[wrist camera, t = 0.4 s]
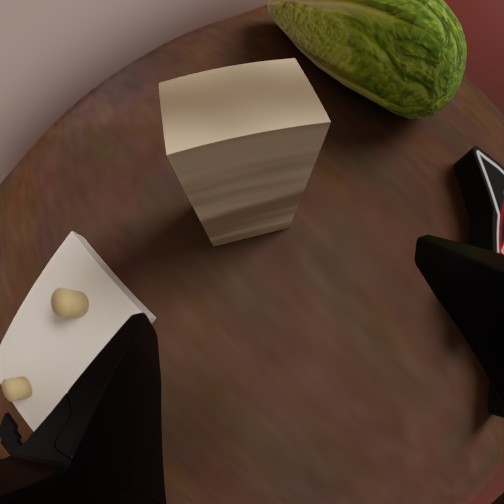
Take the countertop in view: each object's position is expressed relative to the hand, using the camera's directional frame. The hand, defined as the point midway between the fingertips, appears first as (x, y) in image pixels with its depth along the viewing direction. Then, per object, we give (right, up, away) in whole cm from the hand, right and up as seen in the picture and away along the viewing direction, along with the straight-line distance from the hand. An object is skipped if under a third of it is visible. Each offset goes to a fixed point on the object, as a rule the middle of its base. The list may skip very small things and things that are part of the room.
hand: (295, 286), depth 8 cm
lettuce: (+10, +24, +19) cm, 32 cm away
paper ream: (-2, +4, +14) cm, 15 cm away
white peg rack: (-18, -8, +11) cm, 23 cm away
